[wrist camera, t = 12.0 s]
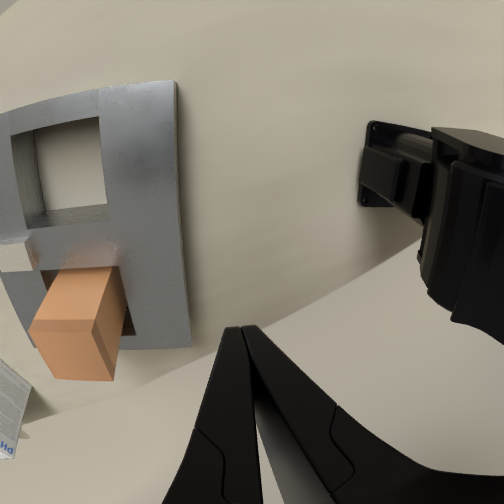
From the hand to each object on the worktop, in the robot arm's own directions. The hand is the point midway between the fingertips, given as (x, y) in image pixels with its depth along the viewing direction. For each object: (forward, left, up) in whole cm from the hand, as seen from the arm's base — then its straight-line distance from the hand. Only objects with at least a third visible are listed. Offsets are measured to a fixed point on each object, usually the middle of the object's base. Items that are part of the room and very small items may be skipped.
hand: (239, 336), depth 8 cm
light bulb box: (+29, +21, -13) cm, 38 cm away
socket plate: (+9, +2, -13) cm, 16 cm away
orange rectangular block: (+9, +6, -13) cm, 17 cm away
